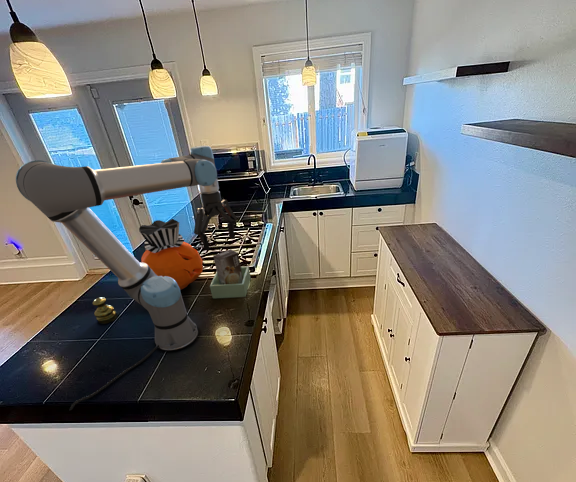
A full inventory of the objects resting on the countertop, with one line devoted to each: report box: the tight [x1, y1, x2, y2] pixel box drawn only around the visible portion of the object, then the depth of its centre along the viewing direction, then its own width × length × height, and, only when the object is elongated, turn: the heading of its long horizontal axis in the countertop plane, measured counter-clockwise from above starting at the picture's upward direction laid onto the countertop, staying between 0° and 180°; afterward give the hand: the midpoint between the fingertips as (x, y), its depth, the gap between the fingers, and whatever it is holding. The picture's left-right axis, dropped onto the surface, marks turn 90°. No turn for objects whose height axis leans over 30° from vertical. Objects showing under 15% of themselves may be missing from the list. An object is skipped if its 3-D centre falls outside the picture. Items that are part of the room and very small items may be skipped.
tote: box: [209, 265, 252, 299], centre depth 142 cm, size 17×15×6 cm
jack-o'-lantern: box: [138, 218, 204, 291], centre depth 142 cm, size 27×26×30 cm
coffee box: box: [212, 248, 243, 285], centre depth 139 cm, size 9×6×16 cm
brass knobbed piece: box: [92, 297, 118, 325], centre depth 127 cm, size 7×7×10 cm
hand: (220, 243), depth 131 cm, fingers open, 13 cm apart
